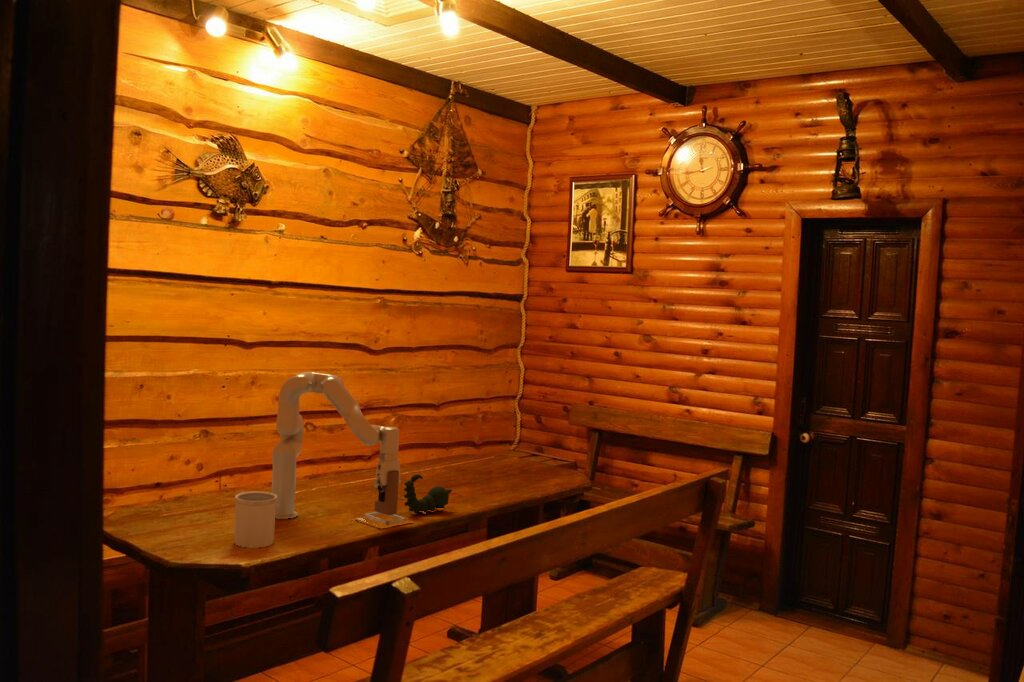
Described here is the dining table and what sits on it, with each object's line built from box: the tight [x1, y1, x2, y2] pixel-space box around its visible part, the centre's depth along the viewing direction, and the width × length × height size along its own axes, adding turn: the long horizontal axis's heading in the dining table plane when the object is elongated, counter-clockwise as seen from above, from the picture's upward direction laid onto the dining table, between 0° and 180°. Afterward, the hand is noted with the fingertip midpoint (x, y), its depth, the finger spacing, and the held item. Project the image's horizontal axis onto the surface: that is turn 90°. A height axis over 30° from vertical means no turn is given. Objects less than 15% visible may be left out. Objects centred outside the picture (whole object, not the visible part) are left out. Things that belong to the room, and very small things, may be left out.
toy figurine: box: [403, 474, 453, 514], centre depth 373 cm, size 9×19×25 cm
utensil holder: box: [234, 490, 277, 549], centre depth 311 cm, size 15×15×18 cm
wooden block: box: [374, 471, 399, 515], centre depth 352 cm, size 9×4×18 cm, turn 52°
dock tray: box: [355, 511, 407, 526], centre depth 353 cm, size 18×16×2 cm
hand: (386, 499), depth 353 cm, fingers closed on wooden block, 4 cm apart
